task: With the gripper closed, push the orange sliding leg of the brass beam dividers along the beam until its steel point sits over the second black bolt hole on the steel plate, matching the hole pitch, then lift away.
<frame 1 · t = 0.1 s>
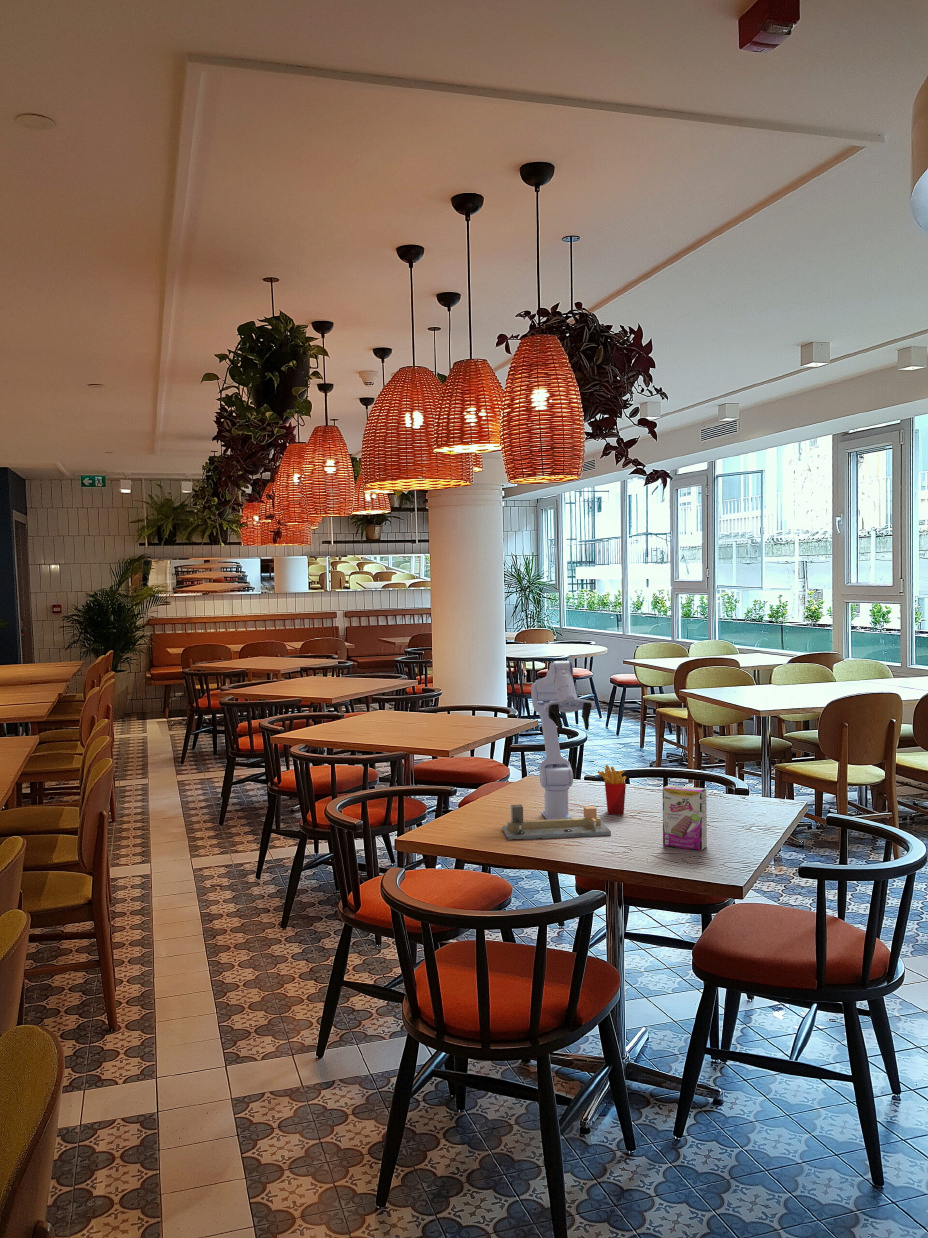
hand: (574, 728, 270), 32 cm above the table, tool tilted 50°, fingers open, 7 cm apart
french fries: (612, 814, 302), on the table
bolt plate: (555, 832, 280), on the table
candy bar box: (684, 847, 262), on the table
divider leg: (591, 817, 281), point 4 cm above the table, slide at 8.0 cm
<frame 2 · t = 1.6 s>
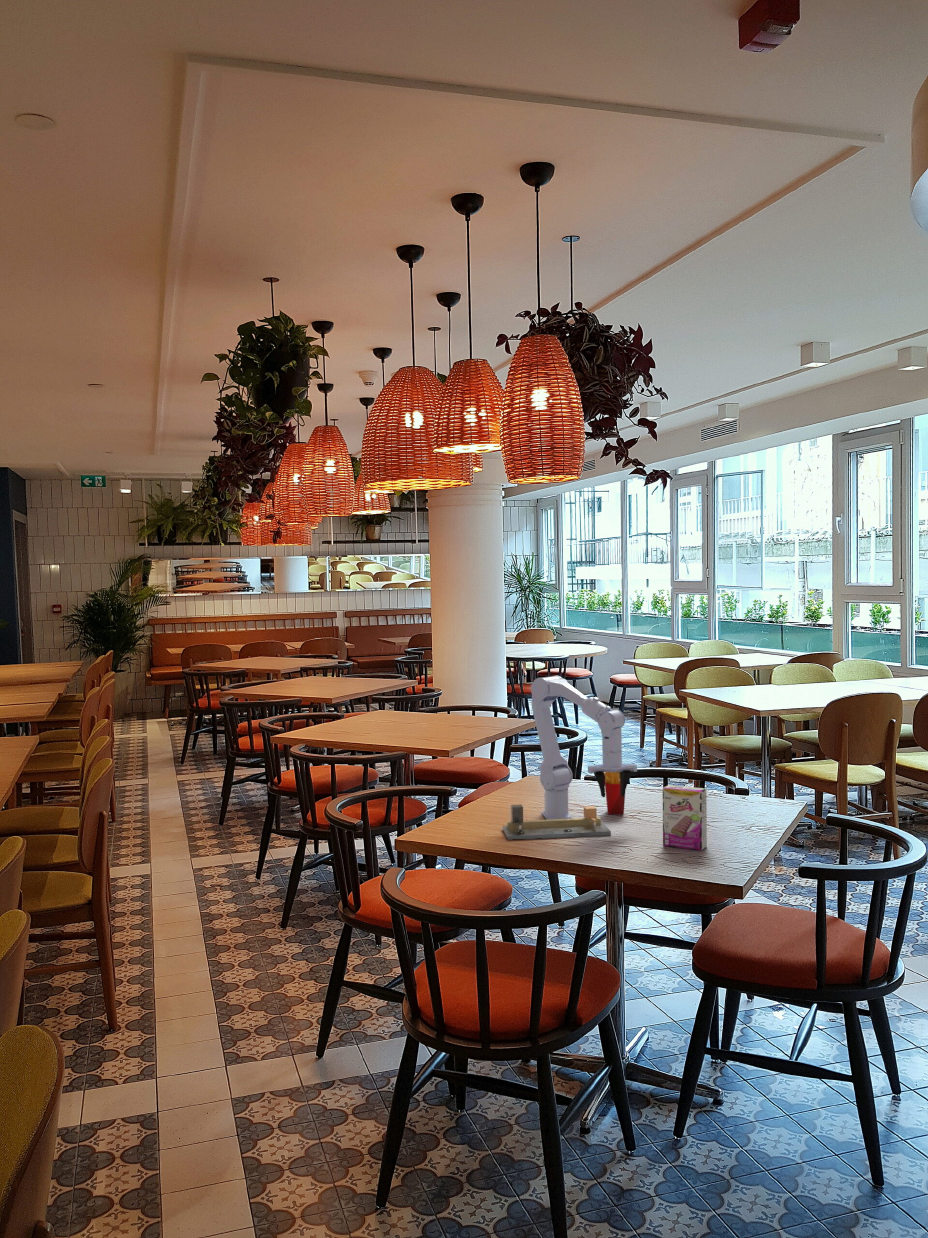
hand: (612, 796, 284), 9 cm above the table, tool pointing down, fingers open, 5 cm apart
nothing on the table moved.
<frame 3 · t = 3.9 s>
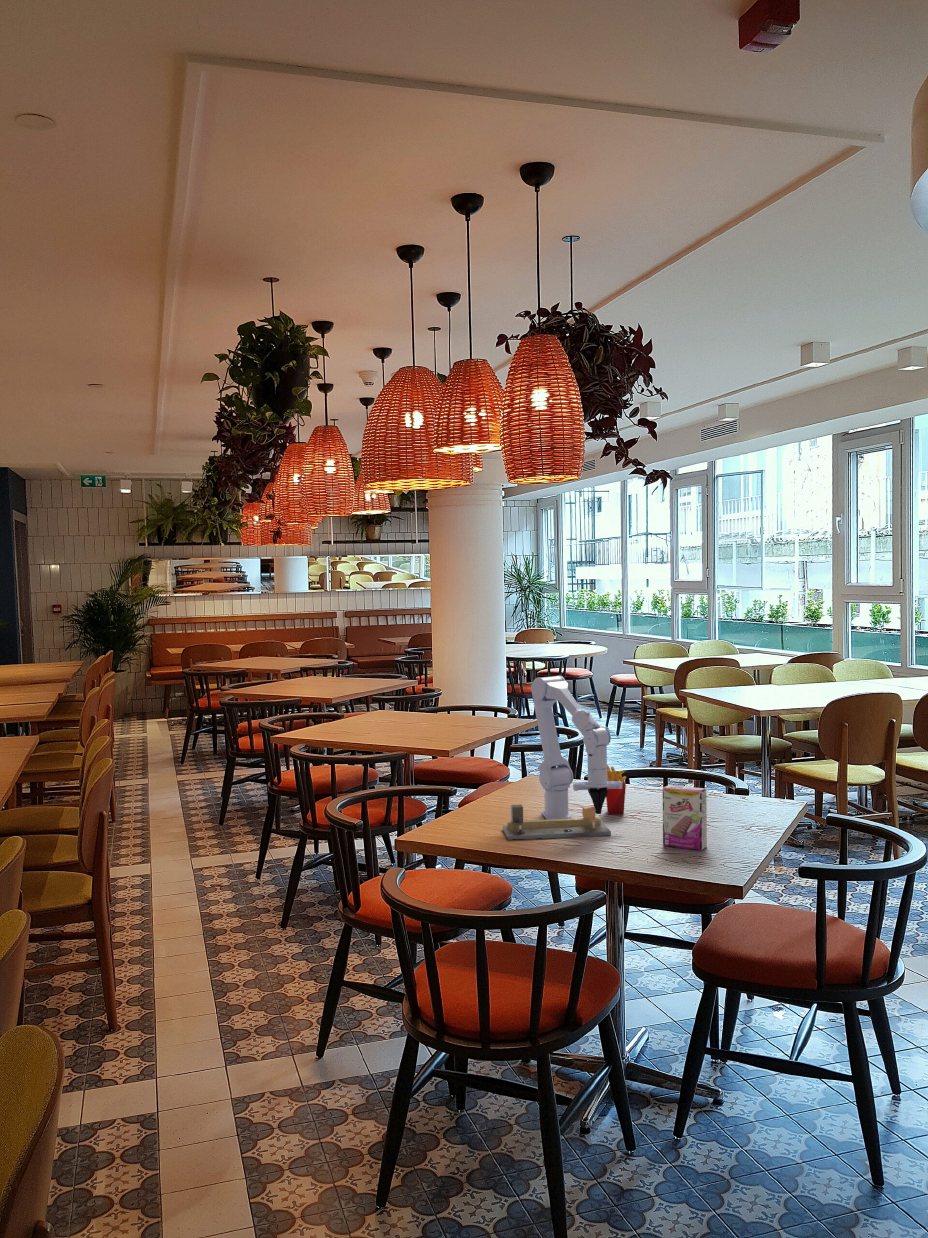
hand: (598, 813, 284), 4 cm above the table, tool pointing down, fingers closed
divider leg: (590, 817, 281), point 4 cm above the table, slide at 7.6 cm, touching gripper
everything else where it was.
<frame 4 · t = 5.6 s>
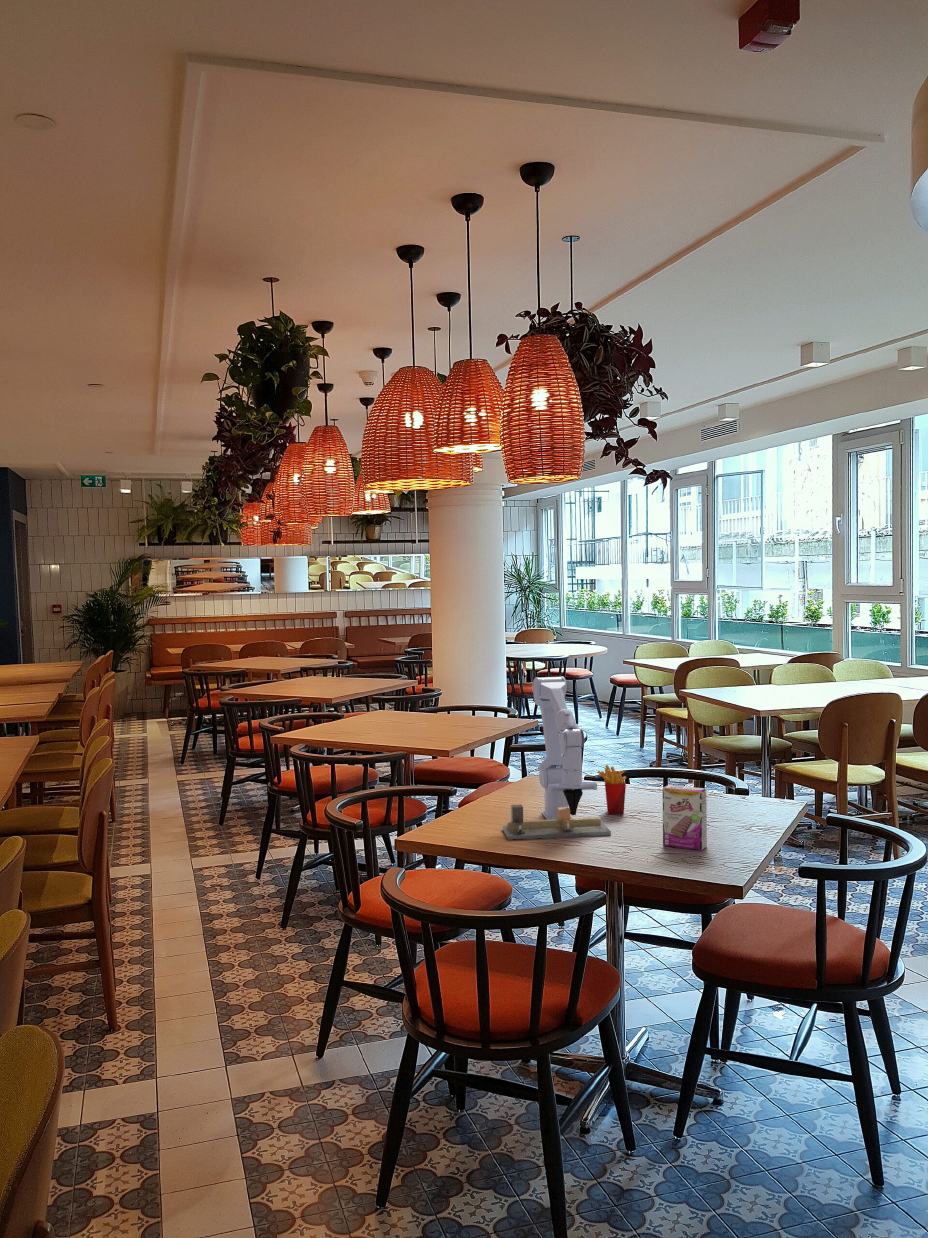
hand: (573, 814, 283), 4 cm above the table, tool pointing down, fingers closed
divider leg: (565, 818, 281), point 4 cm above the table, slide at 0.0 cm, touching gripper
everything else where it was.
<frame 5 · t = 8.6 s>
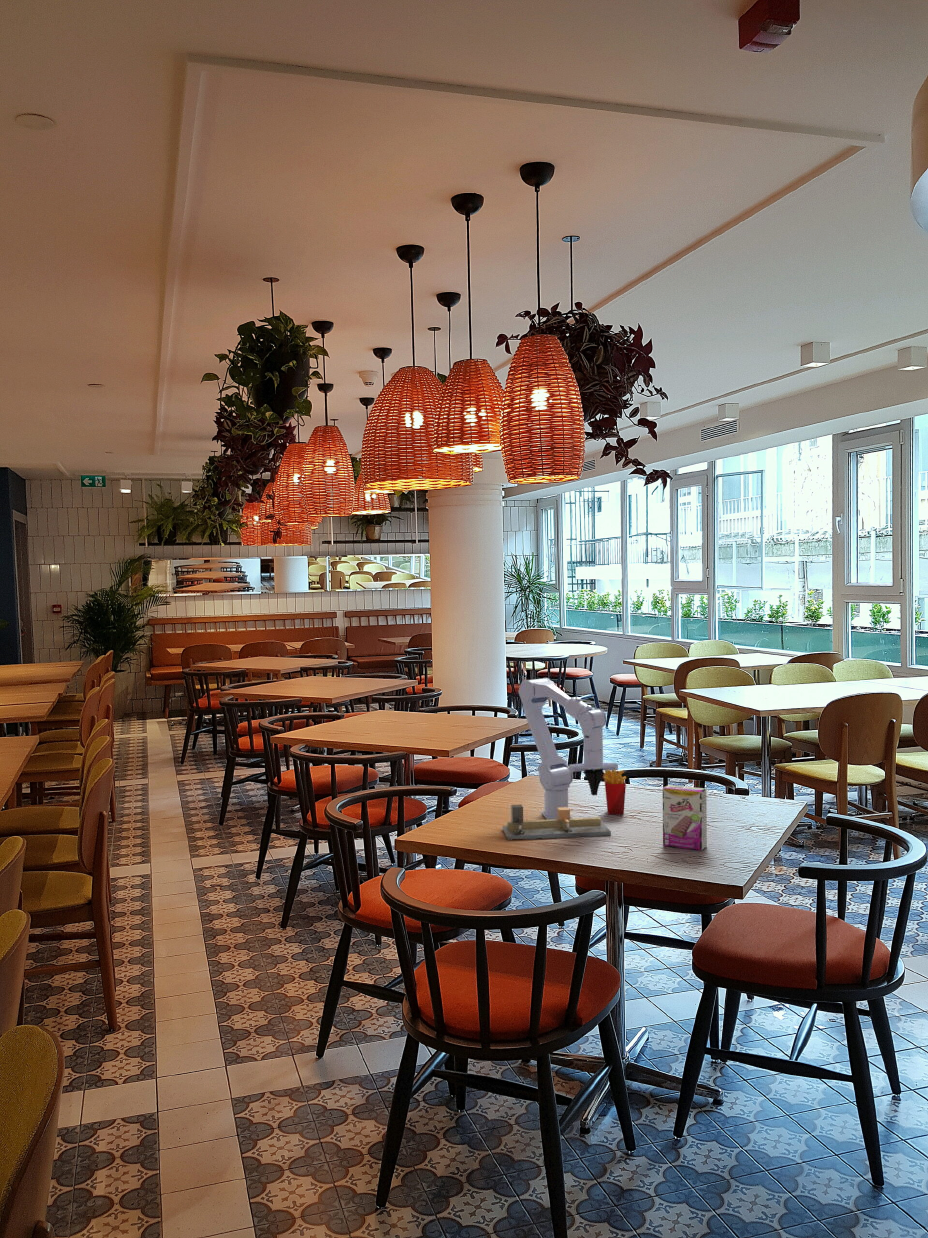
hand: (594, 794, 287), 9 cm above the table, tool pointing down, fingers closed
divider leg: (565, 818, 281), point 4 cm above the table, slide at 0.0 cm
everything else where it was.
at the end: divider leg slide at 0.0 cm; the gripper is holding nothing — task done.
